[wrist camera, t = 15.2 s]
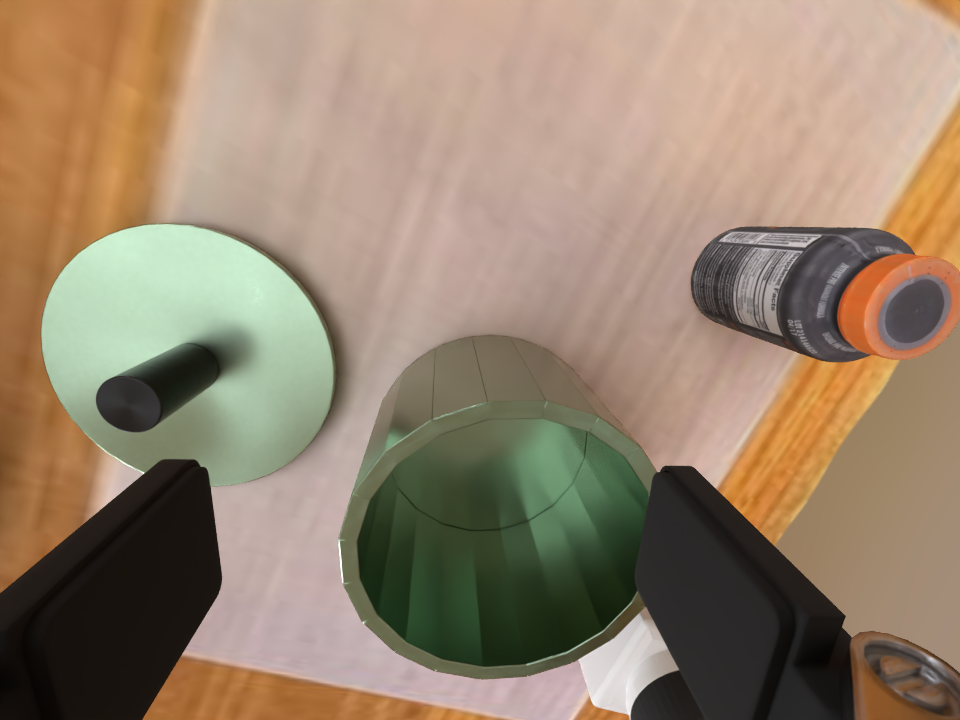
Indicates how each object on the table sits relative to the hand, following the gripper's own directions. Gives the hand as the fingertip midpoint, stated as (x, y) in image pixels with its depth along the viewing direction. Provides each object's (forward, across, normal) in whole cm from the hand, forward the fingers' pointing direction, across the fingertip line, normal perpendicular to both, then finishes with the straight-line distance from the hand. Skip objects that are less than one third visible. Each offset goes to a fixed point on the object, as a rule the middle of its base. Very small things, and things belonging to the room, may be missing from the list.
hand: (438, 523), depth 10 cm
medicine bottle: (+19, -14, +20) cm, 31 cm away
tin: (+19, -3, +8) cm, 20 cm away
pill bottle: (+19, -18, -4) cm, 26 cm away
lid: (+18, +14, +2) cm, 23 cm away
